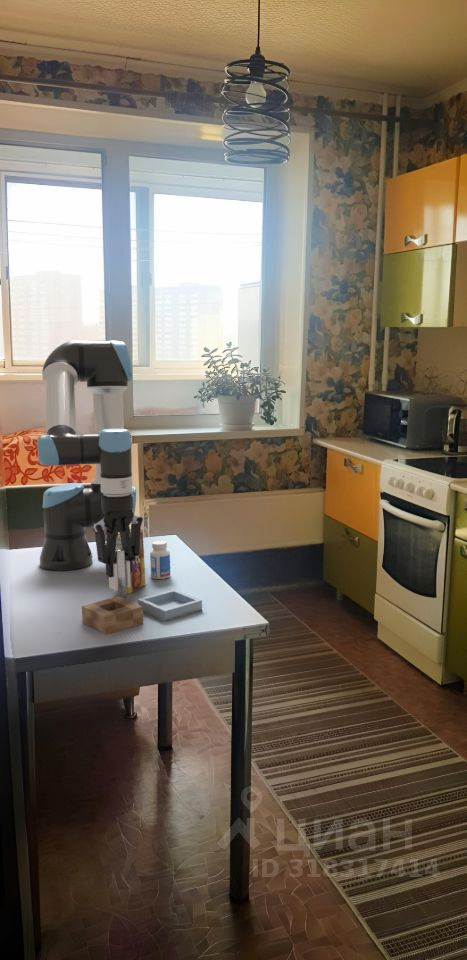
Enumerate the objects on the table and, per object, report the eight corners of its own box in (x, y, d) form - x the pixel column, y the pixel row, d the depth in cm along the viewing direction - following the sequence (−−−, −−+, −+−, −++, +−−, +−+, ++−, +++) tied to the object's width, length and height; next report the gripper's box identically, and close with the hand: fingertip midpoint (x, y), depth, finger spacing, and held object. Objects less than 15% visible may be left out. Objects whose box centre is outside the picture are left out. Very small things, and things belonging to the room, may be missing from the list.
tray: (138, 609, 178) (138, 599, 178) (174, 599, 186) (174, 589, 185) (165, 621, 170) (165, 611, 170) (202, 610, 178) (202, 600, 177)
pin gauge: (112, 604, 182) (110, 549, 179) (122, 602, 184) (120, 547, 181) (118, 607, 179) (116, 552, 177) (129, 605, 181) (127, 550, 179)
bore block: (82, 622, 170) (81, 605, 169) (119, 612, 177) (118, 596, 176) (105, 634, 163) (105, 617, 162) (143, 623, 169) (142, 606, 169)
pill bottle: (172, 573, 206) (171, 540, 205) (168, 579, 201) (167, 545, 199) (152, 573, 207) (152, 539, 205) (148, 579, 202) (148, 544, 200)
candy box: (132, 582, 199) (130, 527, 196) (146, 584, 197) (144, 529, 195) (114, 592, 191) (112, 535, 188) (128, 594, 189) (127, 537, 186)
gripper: (96, 500, 169) (99, 598, 173) (153, 491, 179) (155, 584, 183) (79, 495, 174) (83, 590, 178) (135, 487, 185) (138, 577, 189)
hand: (119, 587), depth 181 cm, fingers closed on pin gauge, 3 cm apart
